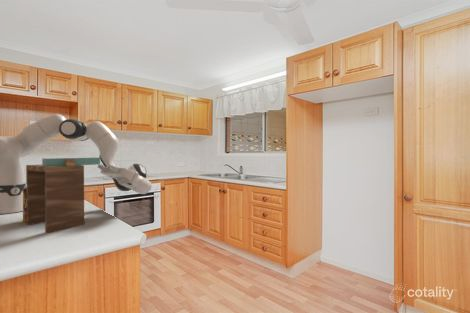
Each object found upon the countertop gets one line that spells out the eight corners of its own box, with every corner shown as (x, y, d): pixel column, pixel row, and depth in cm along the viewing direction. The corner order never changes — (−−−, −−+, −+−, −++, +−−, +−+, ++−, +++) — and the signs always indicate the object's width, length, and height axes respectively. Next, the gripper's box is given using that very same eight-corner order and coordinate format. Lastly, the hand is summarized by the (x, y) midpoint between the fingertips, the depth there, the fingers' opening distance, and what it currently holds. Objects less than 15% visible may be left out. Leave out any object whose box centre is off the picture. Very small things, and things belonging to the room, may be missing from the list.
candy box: (22, 222, 111) (22, 188, 111) (24, 220, 115) (23, 187, 114) (47, 219, 116) (47, 187, 115) (48, 217, 119) (47, 186, 119)
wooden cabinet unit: (26, 224, 108) (26, 158, 108) (62, 217, 120) (62, 157, 119) (47, 232, 98) (46, 159, 97) (84, 224, 110) (83, 158, 109)
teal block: (42, 166, 101) (42, 158, 101) (96, 164, 120) (96, 157, 120) (45, 166, 100) (45, 158, 100) (100, 164, 118) (99, 157, 118)
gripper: (117, 171, 139) (95, 160, 128) (140, 173, 128) (119, 160, 117) (112, 181, 136) (89, 171, 126) (135, 184, 125) (113, 172, 115)
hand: (104, 166), depth 122 cm, fingers open, 8 cm apart
